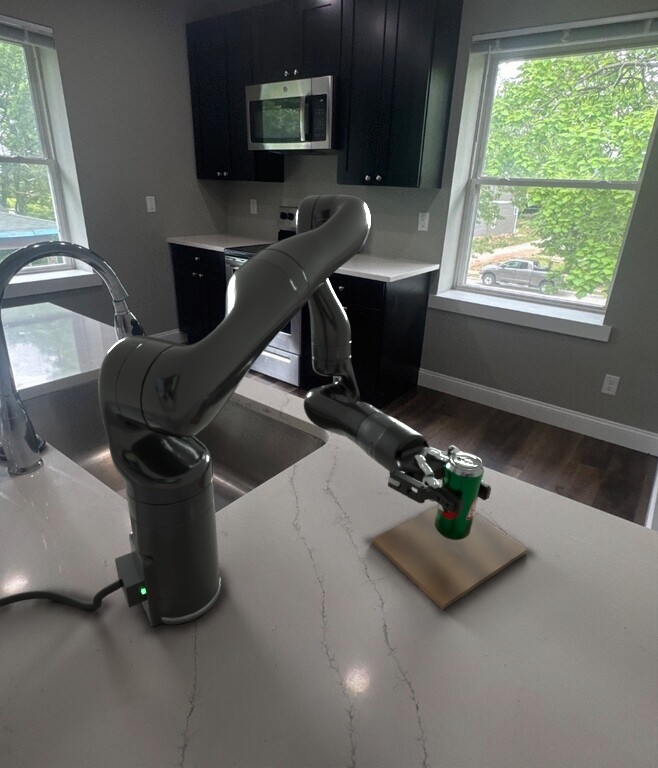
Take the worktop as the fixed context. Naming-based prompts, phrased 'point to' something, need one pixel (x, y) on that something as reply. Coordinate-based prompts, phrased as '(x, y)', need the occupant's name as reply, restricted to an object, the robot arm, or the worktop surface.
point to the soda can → (460, 494)
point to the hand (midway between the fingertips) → (474, 500)
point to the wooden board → (448, 556)
